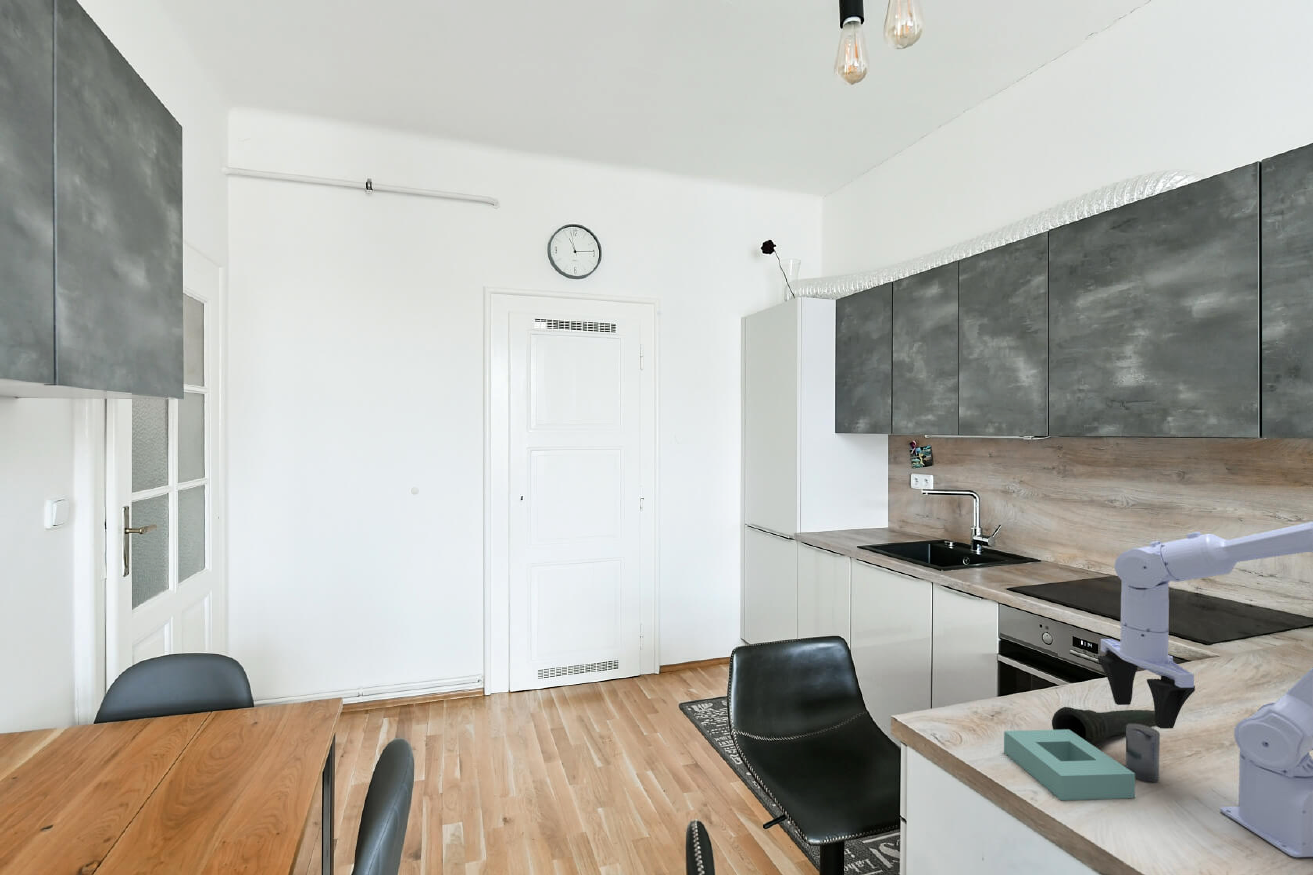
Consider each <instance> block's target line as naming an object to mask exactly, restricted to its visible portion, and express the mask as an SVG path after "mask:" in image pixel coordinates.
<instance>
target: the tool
mask: <svg viewBox="0 0 1313 875" xmlns="http://www.w3.org/2000/svg"><path fill="white" fill-rule="evenodd" d="M1127 724H1140V725H1145V726H1148V727H1151V728H1153V727H1157V726H1156V722H1155V713H1154V710H1147V709H1144V710H1143V709H1126V710H1124V709H1123V710H1111V711H1104V712H1102V711H1101V712H1097V711H1095V710H1090V709H1079V708H1073V707H1071V706H1070V707H1069V706H1063V707H1061V708H1058V710H1057V711H1055V712H1054V714H1053V716H1052V720H1051V728H1052V730H1066V729H1069V730H1071V731H1072V732H1074V733H1075V734H1077V735H1078V736H1079V737H1081V738H1082V739H1084V740H1085V741H1087V742H1088V743H1090V744H1091V745H1093V746H1094V744H1096V743H1100V742H1101V741H1103V740H1104V739H1106V738H1109V737H1112V736H1117V735H1122V734H1126V725H1127Z"/></svg>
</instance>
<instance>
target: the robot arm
mask: <svg viewBox="0 0 1313 875" xmlns="http://www.w3.org/2000/svg"><path fill="white" fill-rule="evenodd" d="M1186 537H1187V538H1186ZM1186 537H1185V538H1181V539H1176V540H1171V541H1167V542H1161V541H1160V540H1156V541H1152V542H1150V543H1149V545H1150V546H1142V547H1138V548H1135V547H1134V548H1130V549H1129V550H1126V551H1123V552H1121V553H1120V554H1119V555H1118V556H1117V558H1116V559H1115V563H1114V570H1115V573H1116V576H1118V578H1119V579H1120V580H1121V589H1120V590H1121V593H1120V641H1118V640H1115V639H1113V638H1101V639H1100V652H1102V653H1105V654H1104V655H1098V656H1097V662H1098V663H1099V665H1100V666H1101V668H1102V670H1103V671H1104V673H1105V675H1106V678H1107V681H1108V684H1109V687H1110V690H1111V694H1112V698H1113V701H1114V704H1115V705H1117V706H1124V705H1125V706H1127V705H1128V706H1129V705H1131V704H1132V703H1131V702H1132V701H1133V691H1134V681H1135V677H1136V674H1137V670H1138V668H1141V669H1143V670H1146V671H1148V672H1149V673H1152V674H1155V675H1156V676H1159V677H1160V678H1147V679H1146V682H1147V685H1148V687H1149V690H1150V693H1151V697H1152V701H1153V708H1154V710H1153V711H1154V713H1155V722H1156V726H1155V727H1157V728H1158V729H1162V730H1165V729H1174V727H1175V724H1176V721H1177V718H1178V716H1179V714H1180V711H1181V709H1182V708H1183V706H1184V704H1185V703H1186V701H1187V700H1188V699H1189V698H1190V697H1191V695H1193V693H1194V692H1195V691H1196V685H1195V673H1192V672H1190V671H1188V670H1187V669H1185V668H1183V667H1182V666H1180V665H1179V664H1178V663H1176V662H1175V661H1174V657H1173V656H1172V655H1169V634H1170V633H1169V630H1170V629H1169V623H1170V622H1169V618H1170V615H1169V614H1170V612H1169V611H1170V598H1169V596H1170V595H1169V594H1170V593H1169V592H1170V591H1169V590H1170V588H1169V587H1170V586H1169V585H1170V584H1169V583H1170V582H1174V583H1179V582H1185V581H1191V580H1198V579H1205V578H1210V577H1211V578H1212V577H1217V576H1224V575H1229V574H1230V573H1232V572H1233V569H1234V568H1235V566H1236V565H1237V563H1240V562H1246V561H1252V560H1253V561H1254V560H1261V559H1269V558H1274V557H1280V556H1282V557H1283V556H1288V555H1289V556H1290V555H1296V554H1302V553H1313V521H1311V522H1305V523H1301V524H1297V525H1291V526H1287V527H1282V528H1278V529H1275V530H1274V529H1273V530H1270V531H1269V530H1268V531H1265V532H1261V533H1260V532H1259V533H1255V534H1250V535H1246V536H1240V537H1237V538H1236V537H1235V538H1232V539H1226V538H1223V537H1220V536H1218V535H1216V534H1212V533H1206V534H1202V533H1201V531H1195V532H1189V533H1187V534H1186ZM1233 732H1234V734H1233V737H1234V740H1235V743H1236V745H1237V746H1238V748H1239V758H1238V760H1239V762H1238V763H1239V765H1238V770H1239V771H1238V806H1223V807H1222V806H1221V807H1219V811H1220V812H1222V814H1225V816H1227V817H1229V818H1230V819H1232V820H1233V821H1235V822H1237V823H1239V825H1241V826H1243V827H1245V828H1246V829H1248V830H1249V831H1250V832H1253V833H1254V834H1256V835H1257V836H1259V837H1260V838H1262V839H1263V840H1265V841H1266V842H1268V843H1270V844H1271V845H1272V846H1274V847H1276V848H1278V849H1280V850H1281V851H1282V852H1284V853H1285V854H1287V855H1289V856H1291V857H1293V858H1313V757H1312V756H1311V755H1310V751H1311V752H1312V751H1313V666H1312V667H1311V668H1310V669H1309V670H1308V671H1307V672H1306V673H1305V674H1304V675H1303V676H1302V677H1301V678H1300V679H1299V680H1298V681H1297V682H1295V684H1294V685H1292V686H1291V687H1290V689H1288V690H1287V691H1286V692H1285V693H1284V694H1283V695H1282V696H1281V697H1279V698H1278V700H1276V701H1274V702H1268V703H1265V704H1264V705H1262V706H1260V707H1259V708H1258V709H1257V711H1256V712H1255V713H1252V715H1251V716H1249V717H1246V718H1243V719H1242V720H1240V721H1239V722H1237V724H1236V726H1235V728H1234V730H1233Z"/></svg>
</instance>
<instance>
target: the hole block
mask: <svg viewBox="0 0 1313 875" xmlns="http://www.w3.org/2000/svg"><path fill="white" fill-rule="evenodd" d="M1003 732H1004V734H1003V752H1004V754H1006V755H1007V756H1008V757H1009V758H1010V759H1011V760H1012V761H1014V762H1015V763H1016V764H1017V765H1018V766H1020V767H1021V768H1022V769H1023V770H1024V771H1025V772H1027V773H1028V775H1030V776H1032V777H1033V779H1035V780H1036V781H1038V783H1040V784H1041V785H1042V786H1043V787H1044V788H1045V789H1046V790H1048V791H1049V792H1051V793H1052V795H1053V796H1055V797H1056V798H1058V799H1059V800H1060V801H1079V800H1081V801H1082V800H1085V801H1086V800H1087V801H1088V800H1109V799H1111V800H1113V799H1115V800H1116V799H1135V798H1136V797H1135V795H1136V779H1135V773H1133V772H1132V771H1130V770H1129V769H1127V768H1126V766H1125V765H1123V764H1121V763H1120V762H1118V761H1117V760H1115V759H1114V758H1112V757H1111V756H1109V755H1108V754H1106V752H1105V753H1104V752H1103V751H1102V750H1100V749H1099V748H1098V747H1096V746H1094V744H1093V745H1091V744H1090V743H1088V742H1087V741H1085V740H1084V739H1082V738H1081V737H1079V736H1078V735H1077V734H1075V733H1074V732H1072V731H1071V730H1069V729H1066V730H1053V729H1039V730H1038V729H1037V730H1036V729H1034V730H1033V729H1032V730H1030V729H1029V730H1004V731H1003Z"/></svg>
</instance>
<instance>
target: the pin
mask: <svg viewBox="0 0 1313 875" xmlns="http://www.w3.org/2000/svg"><path fill="white" fill-rule="evenodd" d="M1160 737H1161V736H1160V732H1159V731H1158V730H1157V729H1155V728H1153V727H1148V726H1145V725H1140V724H1127V725H1126V733H1125V767H1126V768H1127V769H1129V770H1130V771H1132V772H1133V773H1135V780H1136V781H1140V782H1143V783H1147V784H1149V783H1150V784H1156V783H1159V782H1158V781H1160V748H1161V746H1160V744H1161V742H1160Z"/></svg>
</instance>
